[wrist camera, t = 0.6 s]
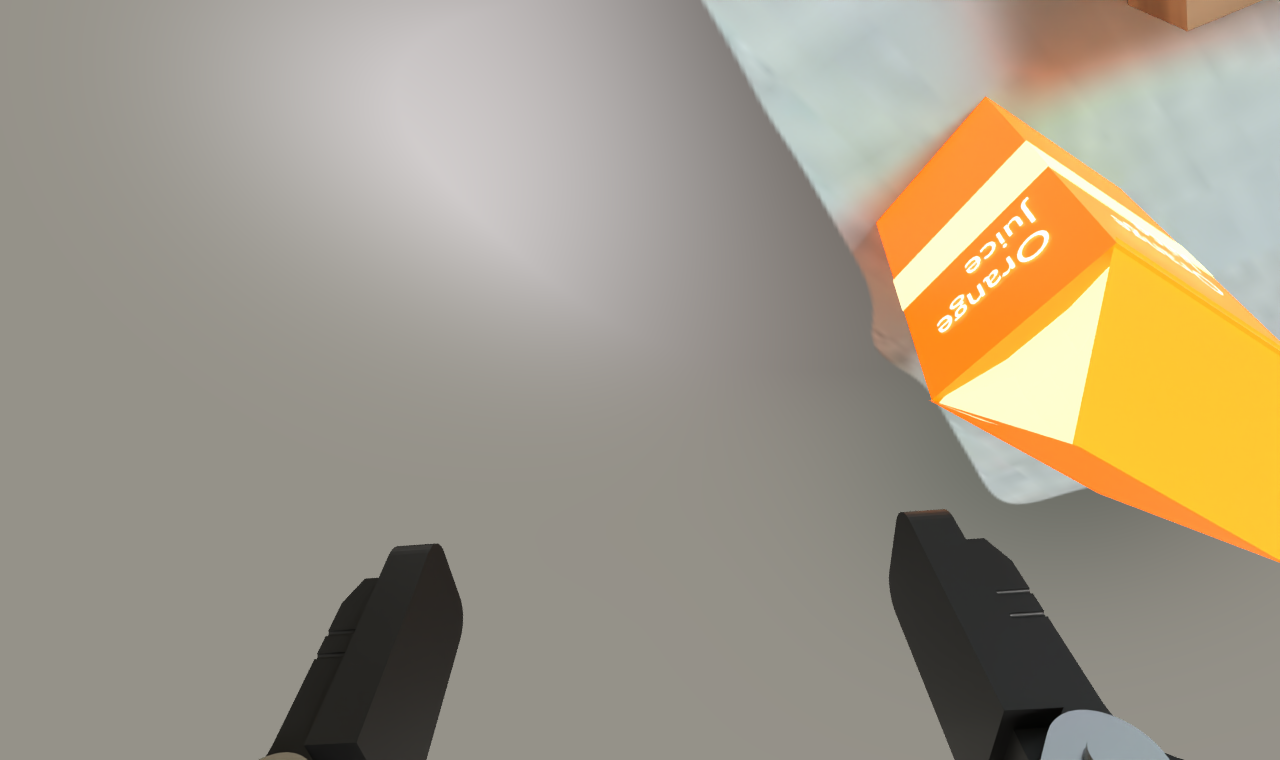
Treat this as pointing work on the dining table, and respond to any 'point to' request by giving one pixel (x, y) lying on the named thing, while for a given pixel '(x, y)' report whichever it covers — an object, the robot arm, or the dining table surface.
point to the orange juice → (1086, 332)
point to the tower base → (1190, 10)
